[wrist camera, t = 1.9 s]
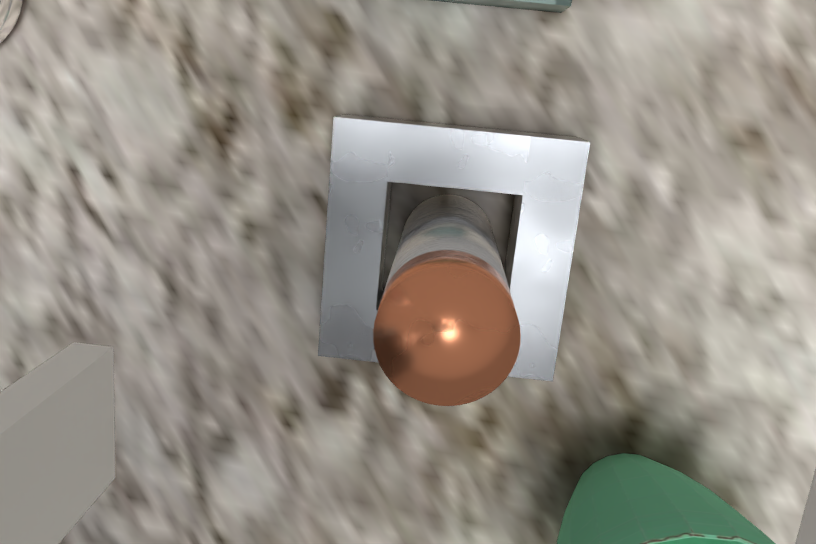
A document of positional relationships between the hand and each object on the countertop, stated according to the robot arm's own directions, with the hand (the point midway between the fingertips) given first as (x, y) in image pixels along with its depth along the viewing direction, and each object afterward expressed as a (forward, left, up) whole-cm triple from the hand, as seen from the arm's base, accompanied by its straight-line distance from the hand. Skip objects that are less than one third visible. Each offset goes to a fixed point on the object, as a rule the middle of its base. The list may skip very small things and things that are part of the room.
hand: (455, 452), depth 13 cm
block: (0, 0, -19) cm, 19 cm away
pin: (0, 0, -19) cm, 19 cm away
